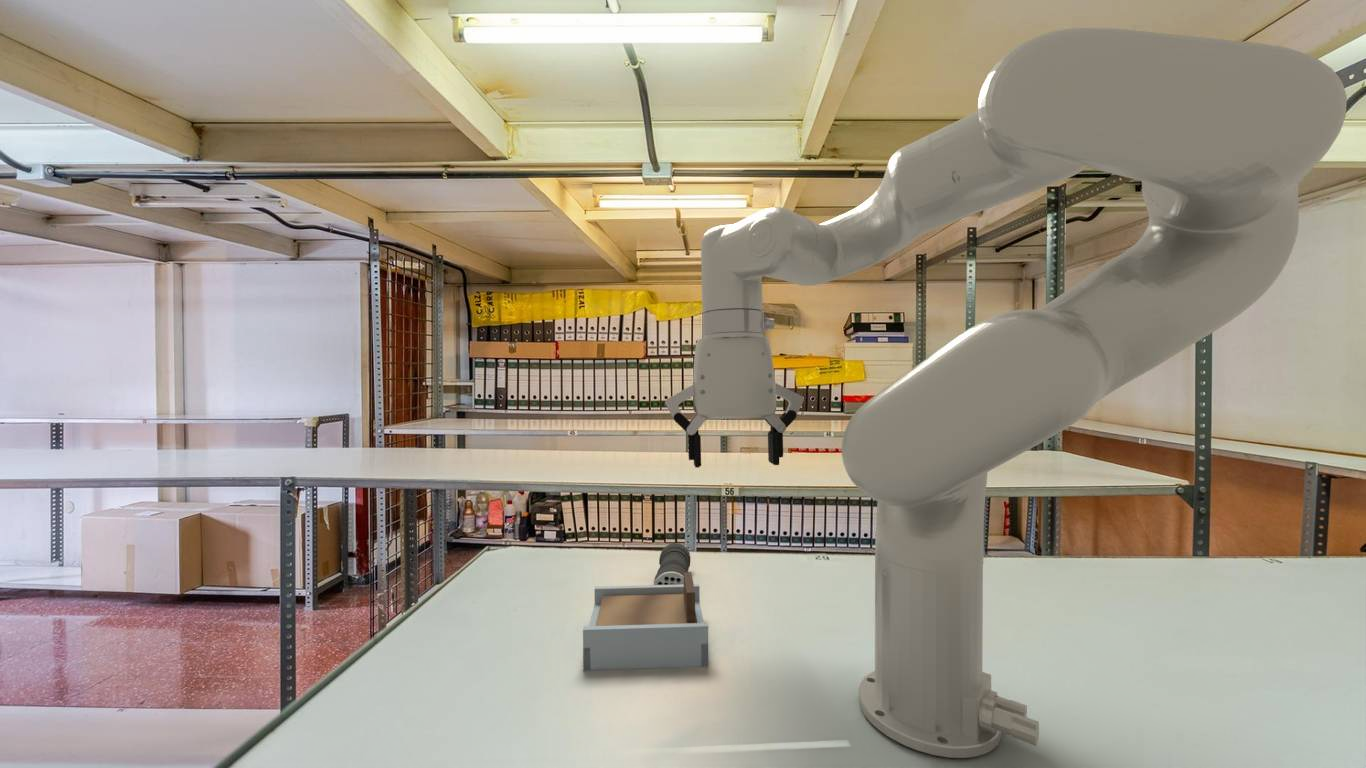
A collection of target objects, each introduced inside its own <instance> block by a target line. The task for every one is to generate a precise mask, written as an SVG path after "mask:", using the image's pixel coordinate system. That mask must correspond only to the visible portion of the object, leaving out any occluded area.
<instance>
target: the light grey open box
mask: <svg viewBox="0 0 1366 768" xmlns="http://www.w3.org/2000/svg"><path fill="white" fill-rule="evenodd" d="M693 584H694V589H695V617H696V622H697V623H686V624H652V625H617V626H596V622H597V618H598V613H599V609H600V605H601V601H602V596H623V595H661V594H684V584H678V585H677V584H676V585H674V584H670V585H653V584H650V585H649V584H648V585H646V584H645V585H640V584H639V585H605V586H604V585H603V586H602V585H601V586H595V587H594V605H593V609H592V611H591V616H590V619H589V623H588V626H587V625H586V626H583V629H582V648H583V649H582V662H583V663H582V667H583V668H582V669H583V670H582V671H612V670H613V671H614V670H617V671H618V670H640V669H641V670H642V669H643V670H645V669H647V670H648V669H674V668H675V669H676V668H698V667H699V668H700V667H701V668H704V667H705V668H706V667H709V625H708V622H705V621H704V616H703V612H702V606H701V602H700V584H699V583H693Z"/></svg>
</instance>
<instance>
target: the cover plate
mask: <svg viewBox="0 0 1366 768" xmlns="http://www.w3.org/2000/svg"><path fill="white" fill-rule="evenodd" d="M694 584H695V583H694V580H693V574H692V572H691V571H688V572H684V594H661V595H623V596H602V601H601V605H600V609H599V613H598V618H597V622H596V626H617V625H652V624H686V623H697V622H696V617H695V589H694Z"/></svg>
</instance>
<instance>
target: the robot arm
mask: <svg viewBox="0 0 1366 768" xmlns="http://www.w3.org/2000/svg"><path fill="white" fill-rule="evenodd" d="M978 95H979V96H978V99H977V111H975V112H973V113H971V114H968V115H967V116H964V117H962V118H961V119H959V120H958V119H957V121H953V123H950V124H947V125H946V126H944V127H942V128H940V129H938V130H936V131H934V132H931V133H929V134H927V135H926V136H923V137H921V138H920V139H919V138H918V140H915V141H913V142H911V143H909V144H907V145H904V146H902V147H900V148H899V149H898V150H897V151H895V152H893V154H892V155H891V157H890V158H889V161H888V163H887V166H886V170H885V172H884V175H883V178H882V181H881V183H880V185H879V187H878V188H877V189H876V191H875V192H874V193H873V194H872V195H871V196H870V197H869V198H868V199H866V200H865V201H864V202H863V203H861V204H860V205H858V206H856V207H855V208H853V209H851V210H849V211H847V212H845V213H842V214H840V215H837V216H835V217H834V218H831V219H829V220H827V221H824V222H821V223H818V222H815V221H814V220H811V219H810V218H807V217H805V216H804V215H800V214H798V213H797V212H795V211H793V210H791V209H788V208H785V207H780V206H779V207H778V206H774V207H773V206H772V207H768V208H764V209H762V210H759V211H757V212H755V213H753V214H751V215H749V216H747V217H745V218H743V219H742V220H739V221H738V222H736V223H733V224H725V225H724V224H723V225H718V226H715V227H712V228H710V229H708V230H707V231H705V233H704V234H703V235H702V237H701V242H700V256H701V257H700V261H701V262H700V263H701V264H700V265H701V267H700V268H701V269H700V271H701V308H702V309H701V310H702V311H701V313H702V338H700V339H697V340H696V344H695V351H694V357H693V375H692V376H693V377H692V379H693V380H692V385H690V386H688V387H686V388H685V389H683V390H681V391H679V392H677V393H675V394H673V395H672V396H669V397H667V398H666V400H665V401H664V402H665V406H666V407H667V409H668V411H669V413H670V414H671V417H672V418H673V420H674V422H675V423H676V424H677V425H678V426H679V427H681V428H682V430H684V431H685V432H686V433H687V438H688V439H687V444H688V445H687V447H688V450H687V451H688V453H687V454H688V461H693V466H694V468H700V467H702V445H701V444H702V442H701V441H702V440H701V438H702V437H701V435H700V433H699V429H700V428H701V427H702V426H703V425H704V423H705V421H706V420H726V419H727V420H728V419H729V420H730V419H731V420H733V419H760V418H761V419H763V420H764V421H765V422H766V423H767V425H768V426H769V427H770V429H769V431H768V432H767V448H768V449H767V450H768V451H767V452H768V453H767V454H768V455H767V456H768V457H767V459H768V462H769V463H771V464H772V465H774V466H779V465H780V458H783V457H784V432H786V431H787V428H788V427H789V426H790V425H791V424H792V423H793V422H794V420H796V418H797V415H798V413H799V412H800V409H801V407H802V405H803V403H804V401H805V398H804V397H803V396H802V395H800V394H798V393H796V392H795V391H793V390H790V389H789V388H786V387H784V386H783V385H781V384H778V383H777V382H776V376H775V367H774V359H773V355H772V349H771V348H772V347H771V343H770V341H769V337H764V334H765V332H766V331H767V330H774V329H775V318H773V317H772V318H769V316H768V317H766V315H765V312H764V311H763V277H765V278H769V279H770V278H771V279H776V280H782V281H785V282H789V283H792V284H795V285H797V286H798V285H799V286H803V287H808V286H811V287H812V286H818V285H822V284H823V285H824V284H826V283H829V282H832V281H834V280H838V279H840V278H841V279H842V278H844V277H846V276H849V275H852V274H854V273H858V272H860V271H864V270H866V269H868V268H870V267H872V266H874V265H877V264H879V263H881V262H883V261H884V260H886V259H888V258H889V257H891V256H893V255H894V254H895V253H897V252H899V251H901V250H903V249H904V248H905V247H908V246H910V244H912V243H913V242H914V241H916V240H917V239H918V238H920V237H921V236H923V235H924V234H927V233H929V232H932V231H933V230H936V229H939V228H941V227H944V226H947V225H949V224H952V223H954V222H955V223H956V222H957V221H960V220H962V219H965V218H967V217H969V216H973V215H976V214H978V213H981V212H984V211H986V210H988V209H989V210H990V209H991V208H992V209H993V208H994V207H997V206H999V205H1001V204H1005V203H1008V202H1010V201H1013V200H1016V199H1018V198H1021V197H1023V196H1026V195H1029V194H1031V193H1034V192H1037V191H1040V190H1042V189H1045V188H1047V187H1050V186H1052V185H1055V184H1058V183H1060V182H1063V181H1065V180H1067V179H1069V178H1072V177H1073V176H1076V175H1077V174H1079V173H1081V172H1082V171H1084V170H1085V169H1087V168H1088V169H1092V170H1096V171H1099V172H1104V173H1108V174H1112V175H1116V176H1119V177H1124V178H1127V179H1132V180H1135V181H1140V182H1141V191H1142V192H1141V194H1142V198H1143V203H1144V205H1145V207H1146V211H1147V214H1148V226H1147V228H1146V229H1145V231H1144V233H1143V235H1142V236H1141V238H1140V239H1138V241H1137V242H1136V243H1135V244H1133V245H1132V246H1130V247H1129V248H1128V249H1126V250H1125V251H1124V252H1121V254H1119V255H1117V256H1116V257H1113V258H1112V259H1110V260H1109V261H1107V262H1105V263H1104V264H1102V265H1101V266H1099V267H1098V268H1097V269H1095V270H1094V271H1093V272H1091V273H1090V274H1088V275H1087V276H1086V277H1084V278H1083V279H1082V280H1081V281H1079V282H1078V283H1076V284H1075V285H1073V286H1072V287H1070V288H1069V289H1068V290H1065V291H1064V292H1063V293H1061V294H1060V295H1058V296H1057V297H1055V298H1054V299H1052V300H1051V301H1049V302H1048V303H1046V304H1045V305H1042V306H1041V307H1039V308H1038V309H1027V308H1025V309H1016V310H1011V311H1006V312H1002V313H998V314H996V315H994V316H991V317H988V318H986V319H985V320H983V321H980V322H979V323H977V324H975V325H973V326H972V327H970V328H968V329H967V330H965V331H963V332H962V333H961V334H959V335H957V336H956V337H954V338H953V339H952V340H951V341H949V342H948V343H946V344H945V345H943V346H941V348H939V349H938V350H936V351H935V352H934V353H932V354H931V355H929V356H928V357H927V358H925V359H924V360H923V361H921V362H919V363H918V364H917V365H916V366H914V367H912V368H911V369H910V370H908V371H907V372H906V373H904V374H903V375H901V377H899V378H898V379H896V380H894V381H893V382H891V384H889V385H888V386H887V387H885V388H883V389H882V390H881V391H879V392H878V393H876V394H875V395H874V396H872V397H871V398H870V399H868V400H867V401H866V402H865V403H863V404H862V405H861V406H860V407H859V408H858V409H857V410H856V412H855V413H854V414H853V415H852V416H851V418H850V419H849V421H848V422H847V424H846V426H845V429H844V433H843V435H842V436H843V437H842V440H841V457H842V462H843V466H844V468H845V472H846V473H847V476H848V477H849V479H850V480H851V481H852V483H853V484H854V485H855V486H856V488H857V489H858V490H859V491H861V492H862V493H863V494H864V495H865V496H867V497H869V498H870V499H873V500H874V501H876V502H877V506H876V513H875V515H876V516H875V539H874V540H875V541H874V543H875V544H874V545H875V548H874V549H875V551H874V671H870V673H869V674H867V675H865V676H864V677H863V679H861V681H860V684H859V685H858V703H859V707H860V710H861V711H862V713H863V715H864V716H865V717H866V719H867V720H868V721H869V722H870V723H871V724H872V725H873V726H874V727H875V728H876V729H877V730H879V732H881V733H882V734H884V735H885V736H887V737H888V738H890V739H891V740H894V741H895V742H897V743H899V744H901V745H903V746H905V747H907V748H910V749H913V750H915V751H917V752H921V753H925V754H928V755H933V756H936V757H937V756H938V757H943V758H950V759H951V758H952V759H954V758H955V759H966V758H968V759H969V758H975V757H979V756H982V755H983V756H984V755H985V754H988V753H989V752H991V751H993V750H995V748H997V746H998V745H999V744H1000V741H1001V738H1002V733H1003V734H1006V735H1010V736H1011V738H1014V739H1016V740H1019V741H1022V742H1024V743H1026V744H1028V745H1031V746H1034V747H1037V746H1038V743H1039V735H1040V723H1039V721H1038V720H1036V719H1033V718H1030V717H1028V706H1027V704H1025V703H1024V704H1023V703H1021V702H1019V701H1016V700H1013V699H1007V698H1005V697H1002V696H1000V695H998V692H997V691H994V690H992V674H990V673H987V672H984V671H983V647H984V646H983V637H984V635H983V631H984V629H983V627H984V626H983V624H984V623H983V622H984V621H983V619H984V618H983V617H984V616H983V615H984V613H983V612H984V611H983V609H984V608H983V607H984V601H983V598H984V597H983V595H984V594H983V593H984V588H983V587H984V586H983V585H984V538H985V537H984V535H985V534H984V530H985V529H984V528H985V507H986V504H985V503H986V491H987V483H988V472H990V471H992V470H993V469H996V468H997V467H999V466H1001V465H1004V464H1005V463H1007V462H1009V461H1011V460H1012V459H1014V458H1016V457H1018V456H1020V455H1021V454H1024V453H1025V452H1027V451H1029V450H1031V449H1033V448H1034V447H1036V446H1038V445H1040V444H1042V443H1043V442H1045V441H1048V440H1049V439H1050V438H1052V437H1054V436H1056V435H1057V434H1059V433H1062V432H1063V431H1064V430H1066V429H1067V428H1070V427H1071V426H1073V425H1074V424H1076V423H1077V422H1079V420H1081V419H1082V418H1083V417H1085V416H1086V415H1087V414H1088V413H1089V411H1091V409H1092V408H1093V407H1095V405H1096V404H1097V403H1098V402H1100V400H1102V399H1103V398H1105V397H1106V396H1108V395H1109V394H1111V393H1113V392H1114V391H1116V390H1118V389H1120V388H1121V387H1123V386H1124V385H1126V384H1128V383H1129V382H1132V381H1133V380H1135V379H1137V378H1138V377H1141V376H1143V375H1144V374H1145V373H1148V372H1150V371H1151V370H1153V369H1154V368H1157V367H1158V366H1160V365H1161V364H1163V363H1164V362H1166V361H1168V360H1169V359H1171V358H1173V357H1174V356H1176V355H1178V354H1179V353H1180V352H1183V351H1184V350H1186V349H1188V348H1189V347H1191V346H1192V345H1194V344H1196V343H1198V342H1199V341H1201V340H1202V339H1204V338H1206V337H1208V336H1209V335H1211V334H1212V333H1215V332H1216V331H1217V330H1218V329H1221V328H1222V327H1224V326H1225V325H1227V324H1229V323H1230V322H1231V321H1232V320H1234V319H1235V318H1237V317H1238V316H1240V315H1241V314H1242V313H1244V312H1245V311H1246V310H1247V309H1248V308H1250V307H1251V306H1253V304H1255V303H1256V302H1257V301H1258V300H1259V299H1260V298H1261V297H1263V295H1264V294H1265V293H1266V292H1267V291H1268V290H1269V289H1270V288H1271V287H1272V285H1273V284H1274V283H1275V282H1276V280H1277V279H1278V277H1280V274H1281V273H1282V271H1283V270H1284V268H1285V266H1286V264H1287V262H1288V261H1289V259H1290V257H1291V254H1292V252H1293V249H1294V246H1295V244H1296V243H1295V242H1296V239H1297V237H1298V233H1299V232H1298V231H1299V222H1300V220H1299V219H1300V218H1299V217H1300V215H1299V211H1300V209H1299V206H1300V205H1299V184H1300V183H1301V182H1302V180H1303V179H1304V178H1305V177H1307V176H1308V174H1309V173H1310V171H1312V170H1313V169H1314V168H1315V166H1316V165H1318V164H1319V163H1320V162H1321V161H1322V159H1323V158H1324V157H1325V155H1326V154H1327V153H1328V152H1329V150H1330V149H1331V147H1332V146H1333V144H1334V143H1335V141H1336V140H1337V138H1338V136H1339V134H1340V133H1341V132H1342V131H1341V130H1342V129H1343V125H1344V122H1345V119H1346V116H1347V102H1348V100H1347V99H1348V97H1347V96H1348V95H1347V93H1346V89H1345V87H1344V84H1343V82H1342V80H1341V79H1340V76H1338V75H1337V73H1336V72H1335V71H1334V68H1332V67H1331V66H1329V65H1328V64H1326V63H1324V62H1323V61H1322V60H1320V59H1319V58H1317V57H1316V56H1313V55H1311V54H1308V53H1306V52H1303V51H1302V52H1301V51H1298V50H1295V49H1292V48H1289V47H1284V46H1280V45H1275V44H1267V43H1259V42H1254V41H1253V42H1250V41H1240V40H1233V39H1221V38H1213V37H1202V36H1193V35H1192V36H1191V35H1184V34H1183V35H1181V34H1173V33H1164V32H1163V33H1162V32H1156V31H1155V32H1153V31H1144V30H1136V29H1135V30H1134V29H1123V28H1122V29H1121V28H1113V27H1111V28H1109V27H1077V28H1075V27H1074V28H1073V27H1072V28H1064V29H1059V30H1058V29H1057V30H1053V31H1049V32H1046V33H1043V34H1039V35H1038V36H1037V35H1036V36H1034V37H1032V38H1030V39H1028V40H1025V41H1024V42H1022V43H1020V44H1019V45H1017V46H1016V47H1014V48H1013V49H1011V50H1010V51H1008V52H1007V53H1006V54H1005V55H1004V56H1003V57H1002V58H1001V59H1000V60H998V61H997V62H996V63H995V65H994V67H992V69H991V70H990V71H989V73H987V76H986V78H985V80H984V82H983V84H982V86H981V89H980V91H979V94H978ZM777 397H780V398H782V399H784V400H786V401H787V402H788V405H787V407H786V410H785V411H784V412H783V413H782V414H781V415H780V416H778V415H777V414H776V410H777V402H778V400H777ZM690 398H692V404H693V405H692V406H693V411H694V413H695V414H694V415H693V416H692V418H691V419H690V420H688V418H687V417H686V416H684V415H683V413H682V412H681V410H680V407H679V405H680V404H681V403H683V402H685V401H687V400H688V399H690Z"/></svg>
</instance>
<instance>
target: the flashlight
mask: <svg viewBox="0 0 1366 768" xmlns="http://www.w3.org/2000/svg"><path fill="white" fill-rule="evenodd" d="M658 562H659V568H658V569H657V573H656V575H655V577H654V580H653V584H652V585H678V584H684V572H689V569H690V565H691V553H690V552H689V549H688V548H687V547H685V545H683V544H681V543H676V542H672V543H669V544H668V545H666V546H664V547H663V548H662V550H661V552H660V555H659V561H658ZM671 578H674V579H671Z"/></svg>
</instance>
